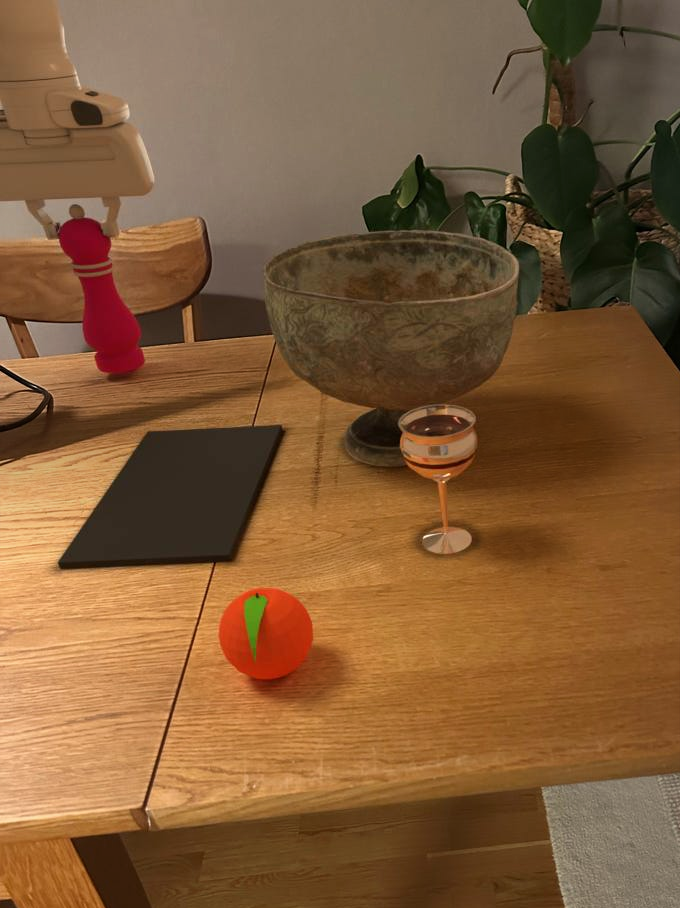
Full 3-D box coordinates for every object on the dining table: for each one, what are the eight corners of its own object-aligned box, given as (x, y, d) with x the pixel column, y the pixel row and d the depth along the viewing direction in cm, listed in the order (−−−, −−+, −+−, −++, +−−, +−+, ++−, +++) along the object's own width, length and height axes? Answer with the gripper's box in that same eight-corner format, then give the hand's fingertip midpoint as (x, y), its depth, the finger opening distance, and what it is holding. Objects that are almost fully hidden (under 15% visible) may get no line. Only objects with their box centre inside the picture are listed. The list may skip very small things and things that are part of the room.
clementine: (316, 703, 62) (298, 628, 57) (221, 712, 62) (196, 637, 57) (323, 636, 68) (308, 563, 64) (237, 644, 68) (216, 571, 63)
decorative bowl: (275, 408, 103) (244, 234, 90) (473, 379, 109) (470, 211, 96) (311, 518, 84) (277, 317, 71) (548, 475, 90) (558, 282, 77)
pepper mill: (155, 366, 114) (112, 204, 102) (102, 379, 111) (50, 213, 99) (140, 352, 119) (96, 195, 106) (88, 363, 116) (37, 203, 103)
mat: (60, 569, 78) (57, 562, 77) (149, 437, 99) (147, 431, 99) (230, 562, 77) (229, 554, 77) (283, 430, 99) (281, 424, 99)
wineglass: (476, 517, 81) (469, 400, 74) (488, 555, 76) (483, 432, 69) (407, 526, 81) (393, 408, 73) (415, 565, 76) (401, 442, 68)
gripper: (-58, 115, 94) (-9, 247, 103) (123, 107, 94) (156, 240, 102) (-32, 107, 99) (13, 234, 107) (140, 100, 99) (171, 228, 107)
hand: (84, 237), depth 105 cm, fingers closed on pepper mill, 6 cm apart
